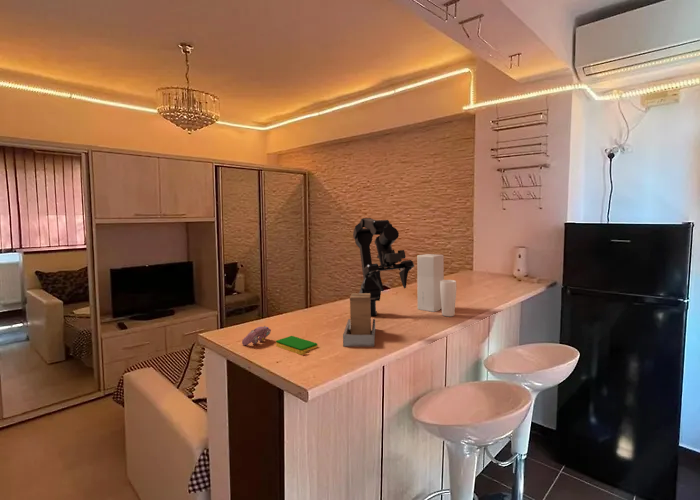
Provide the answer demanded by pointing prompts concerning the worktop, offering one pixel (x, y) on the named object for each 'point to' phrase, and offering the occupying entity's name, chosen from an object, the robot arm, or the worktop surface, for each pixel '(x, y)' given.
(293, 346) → the dish sponge
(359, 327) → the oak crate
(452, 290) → the drinking glass
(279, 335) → the worktop surface
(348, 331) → the metal bay
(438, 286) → the tall white carton
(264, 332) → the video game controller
